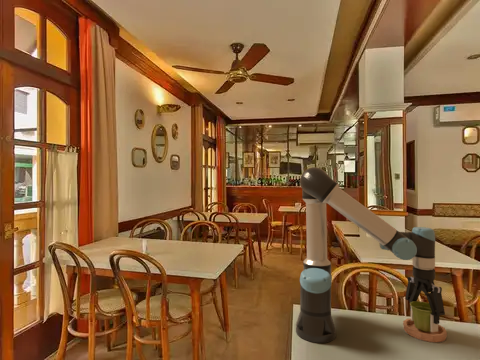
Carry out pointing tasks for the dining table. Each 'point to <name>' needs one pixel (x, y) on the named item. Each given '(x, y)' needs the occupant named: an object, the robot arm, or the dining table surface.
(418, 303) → the plant pot
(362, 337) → the dining table surface
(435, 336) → the terracotta plant saucer
